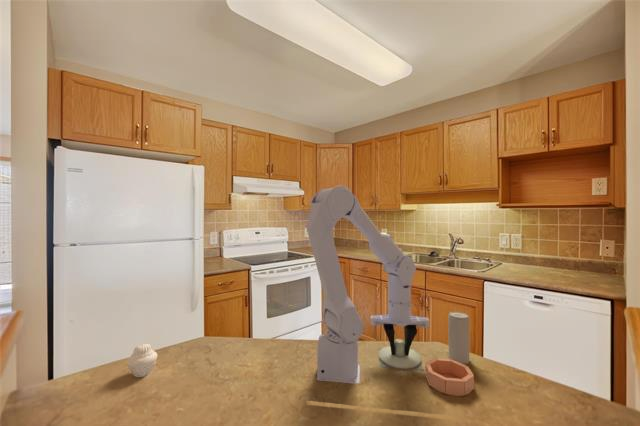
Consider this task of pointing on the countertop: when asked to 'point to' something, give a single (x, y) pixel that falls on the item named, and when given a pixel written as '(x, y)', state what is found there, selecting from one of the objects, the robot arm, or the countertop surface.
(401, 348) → the lid
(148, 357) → the muffin
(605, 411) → the countertop surface
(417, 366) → the mat
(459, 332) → the beverage can
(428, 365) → the bowl
